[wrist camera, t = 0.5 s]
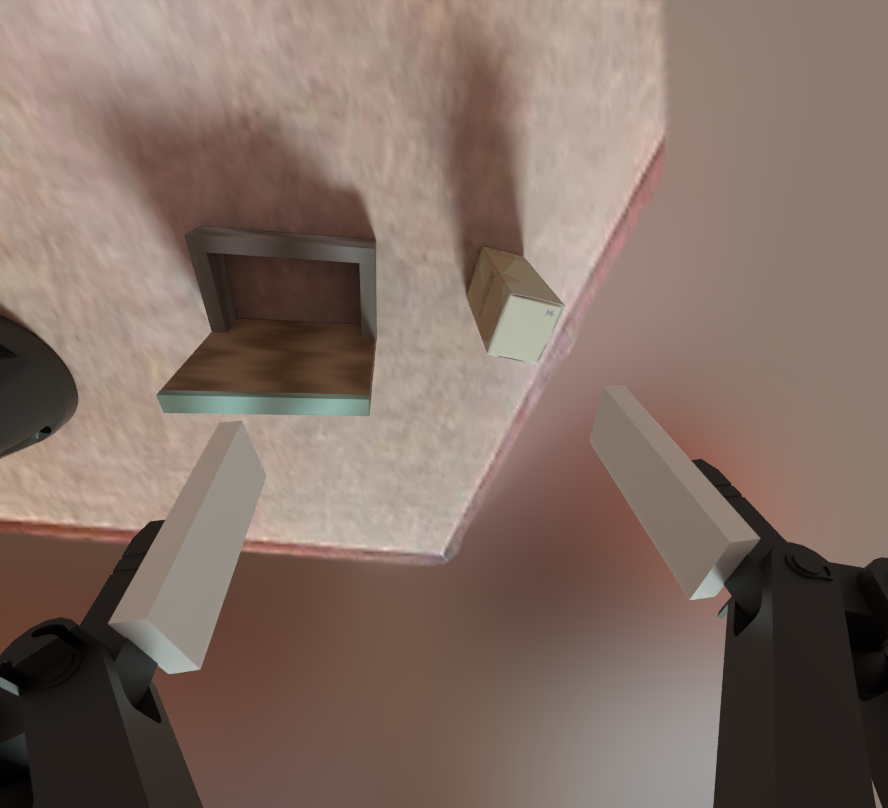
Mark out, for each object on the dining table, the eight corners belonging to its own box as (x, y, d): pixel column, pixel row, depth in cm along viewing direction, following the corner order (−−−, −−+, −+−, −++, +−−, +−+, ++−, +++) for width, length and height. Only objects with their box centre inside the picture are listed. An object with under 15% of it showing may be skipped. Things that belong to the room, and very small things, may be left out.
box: (482, 244, 34) (512, 288, 25) (525, 256, 35) (569, 302, 26) (464, 300, 37) (486, 356, 28) (505, 309, 38) (538, 367, 29)
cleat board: (228, 332, 37) (163, 412, 27) (201, 225, 31) (107, 276, 21) (376, 338, 39) (369, 416, 28) (376, 239, 33) (366, 291, 23)
